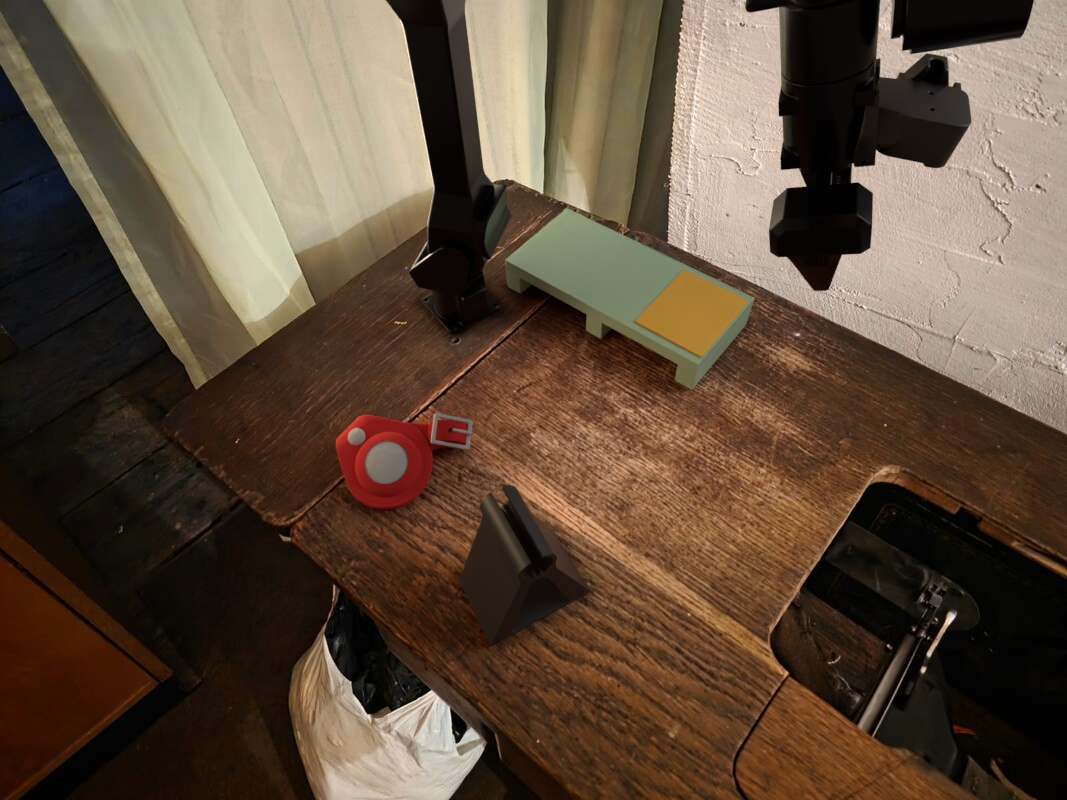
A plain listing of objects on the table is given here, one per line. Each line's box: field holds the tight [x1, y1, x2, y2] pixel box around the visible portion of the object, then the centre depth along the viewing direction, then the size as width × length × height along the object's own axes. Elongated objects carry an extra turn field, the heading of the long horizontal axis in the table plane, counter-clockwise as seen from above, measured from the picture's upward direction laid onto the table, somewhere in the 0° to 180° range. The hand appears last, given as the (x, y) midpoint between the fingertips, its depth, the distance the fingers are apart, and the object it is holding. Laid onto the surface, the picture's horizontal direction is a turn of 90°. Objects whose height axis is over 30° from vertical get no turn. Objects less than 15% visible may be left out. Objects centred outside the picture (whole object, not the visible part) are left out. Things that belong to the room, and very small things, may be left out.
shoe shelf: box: [504, 207, 755, 391], centre depth 72 cm, size 24×11×4 cm, turn 51°
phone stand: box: [458, 484, 591, 647], centre depth 50 cm, size 9×6×12 cm, turn 117°
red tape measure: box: [335, 412, 474, 511], centre depth 62 cm, size 12×4×10 cm
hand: (824, 250), depth 55 cm, fingers open, 9 cm apart
